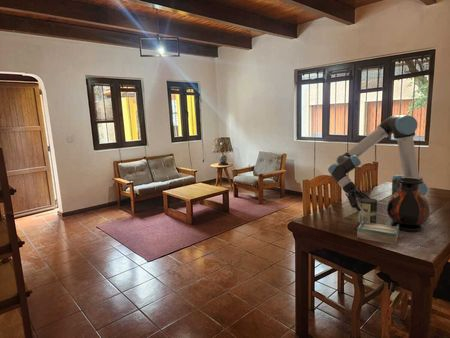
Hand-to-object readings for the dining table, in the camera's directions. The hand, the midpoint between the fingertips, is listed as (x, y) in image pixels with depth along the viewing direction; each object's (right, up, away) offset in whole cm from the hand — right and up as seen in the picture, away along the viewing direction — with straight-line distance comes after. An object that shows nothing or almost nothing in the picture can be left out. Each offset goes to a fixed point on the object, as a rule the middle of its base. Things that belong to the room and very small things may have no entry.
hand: (369, 212), depth 181 cm
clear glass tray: (-5, -10, -19) cm, 22 cm away
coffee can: (-1, -6, +2) cm, 7 cm away
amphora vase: (+17, -7, -9) cm, 20 cm away
